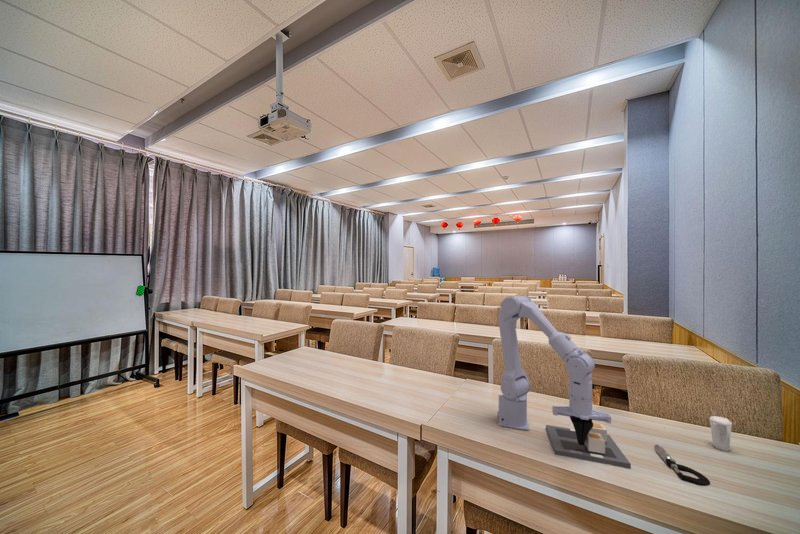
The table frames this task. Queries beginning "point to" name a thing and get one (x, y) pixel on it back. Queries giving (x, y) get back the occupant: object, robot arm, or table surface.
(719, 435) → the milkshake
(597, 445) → the white orange cube
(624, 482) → the table surface
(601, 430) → the white orange block
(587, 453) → the switch plate
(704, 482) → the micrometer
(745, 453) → the table surface
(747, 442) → the table surface
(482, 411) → the table surface
